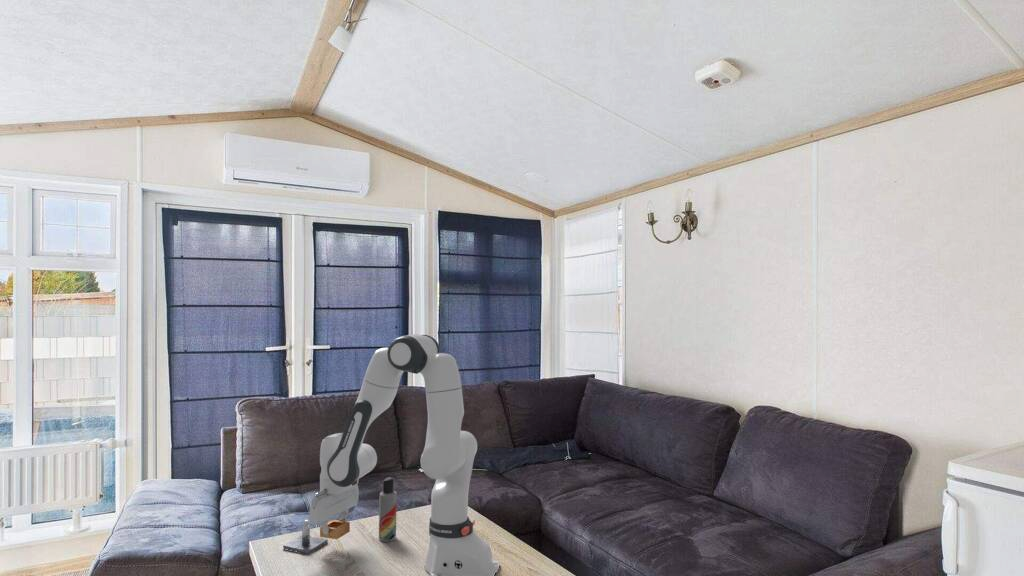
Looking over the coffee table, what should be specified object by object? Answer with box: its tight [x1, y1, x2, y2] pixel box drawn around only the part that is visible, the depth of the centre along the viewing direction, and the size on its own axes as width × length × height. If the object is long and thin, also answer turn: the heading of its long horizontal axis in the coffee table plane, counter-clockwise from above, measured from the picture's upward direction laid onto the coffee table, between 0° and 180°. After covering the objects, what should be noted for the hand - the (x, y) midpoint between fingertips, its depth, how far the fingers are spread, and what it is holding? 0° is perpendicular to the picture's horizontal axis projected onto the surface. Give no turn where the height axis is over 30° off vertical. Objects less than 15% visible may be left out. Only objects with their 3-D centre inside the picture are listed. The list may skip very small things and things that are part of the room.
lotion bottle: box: [378, 477, 398, 542], centre depth 183 cm, size 6×6×20 cm
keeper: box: [282, 519, 328, 555], centre depth 176 cm, size 10×9×8 cm
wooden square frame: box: [319, 519, 351, 540], centre depth 174 cm, size 6×6×3 cm
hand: (334, 528), depth 174 cm, fingers closed on wooden square frame, 6 cm apart
